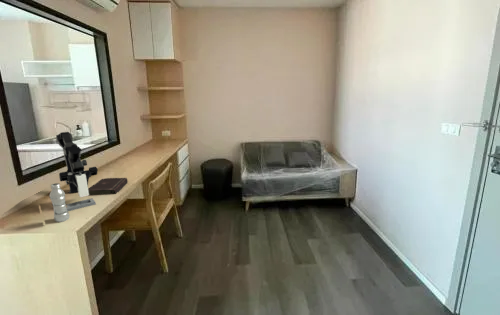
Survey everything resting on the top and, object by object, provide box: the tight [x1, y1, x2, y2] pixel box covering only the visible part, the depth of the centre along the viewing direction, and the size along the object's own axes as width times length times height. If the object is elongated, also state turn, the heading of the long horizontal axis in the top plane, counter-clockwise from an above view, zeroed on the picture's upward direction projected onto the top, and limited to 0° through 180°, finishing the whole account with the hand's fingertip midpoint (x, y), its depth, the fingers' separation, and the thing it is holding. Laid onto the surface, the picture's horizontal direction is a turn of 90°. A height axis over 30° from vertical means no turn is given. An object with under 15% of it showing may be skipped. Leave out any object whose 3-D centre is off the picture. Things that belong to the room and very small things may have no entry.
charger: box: [75, 172, 90, 198], centre depth 156 cm, size 4×4×14 cm
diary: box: [88, 177, 129, 196], centre depth 185 cm, size 19×25×5 cm
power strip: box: [66, 198, 97, 212], centre depth 156 cm, size 16×8×3 cm, turn 131°
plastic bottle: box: [49, 182, 70, 223], centre depth 138 cm, size 6×7×20 cm
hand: (82, 186), depth 155 cm, fingers closed on charger, 4 cm apart
